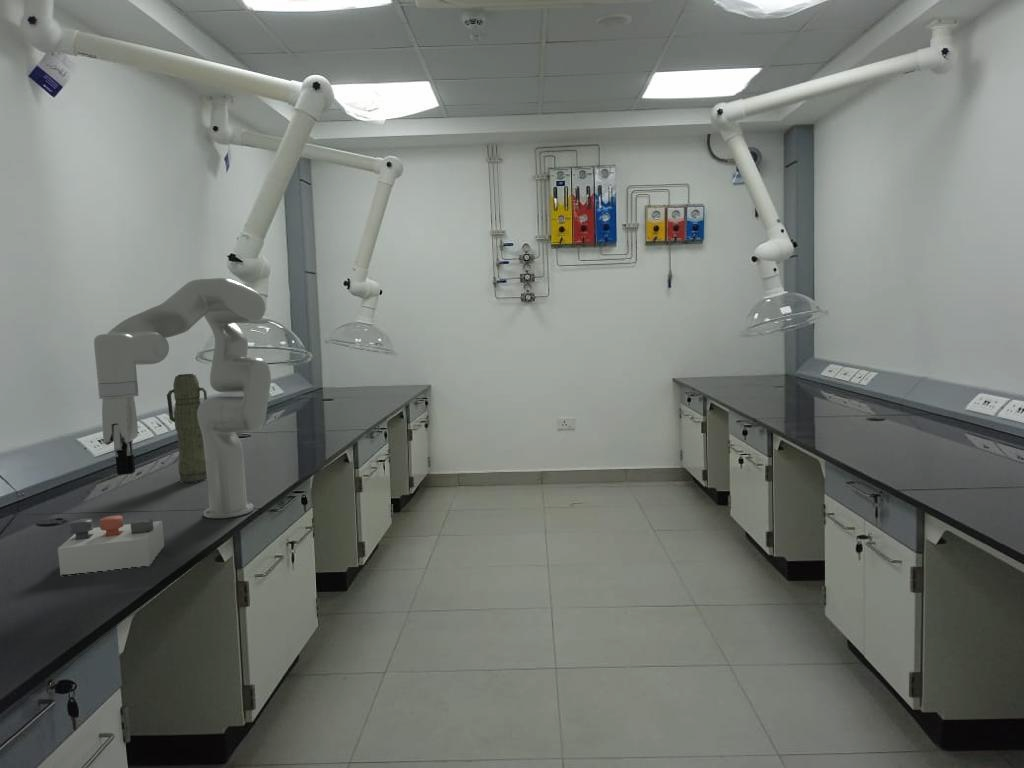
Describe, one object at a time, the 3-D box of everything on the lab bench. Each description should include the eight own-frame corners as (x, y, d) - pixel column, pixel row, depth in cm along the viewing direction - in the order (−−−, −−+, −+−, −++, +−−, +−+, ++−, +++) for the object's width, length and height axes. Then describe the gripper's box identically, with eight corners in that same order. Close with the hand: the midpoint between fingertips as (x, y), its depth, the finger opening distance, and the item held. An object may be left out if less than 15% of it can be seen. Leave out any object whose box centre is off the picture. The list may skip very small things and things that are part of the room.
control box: (83, 554, 161) (80, 529, 161) (164, 545, 166) (161, 520, 165) (60, 576, 148) (57, 548, 147) (149, 566, 152) (146, 538, 151)
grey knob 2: (135, 543, 159) (133, 520, 159) (157, 541, 161) (154, 517, 160) (130, 550, 155) (128, 525, 155) (152, 547, 156) (150, 523, 156)
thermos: (175, 479, 237) (166, 374, 233) (214, 474, 241) (205, 372, 237) (173, 484, 228) (163, 376, 225) (213, 480, 232) (204, 374, 229)
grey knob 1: (75, 544, 156) (73, 519, 156) (97, 541, 157) (95, 517, 157) (68, 550, 152) (65, 525, 152) (91, 547, 153) (88, 523, 153)
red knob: (105, 540, 158) (103, 516, 157) (127, 538, 159) (124, 514, 158) (99, 546, 154) (96, 522, 153) (121, 544, 155) (119, 520, 154)
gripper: (108, 388, 160) (116, 468, 162) (88, 395, 146) (97, 482, 147) (145, 386, 162) (152, 465, 164) (129, 392, 148) (137, 479, 149)
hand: (126, 473), depth 156 cm, fingers closed
